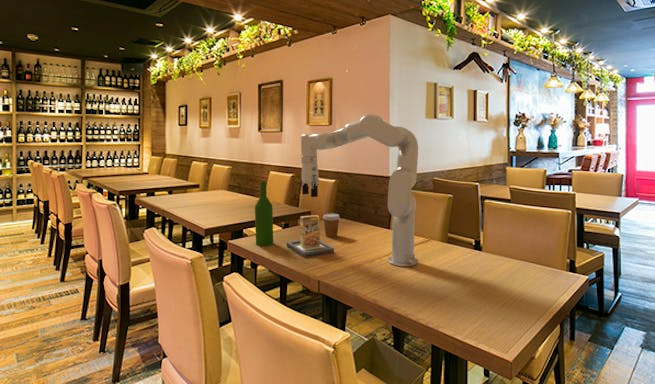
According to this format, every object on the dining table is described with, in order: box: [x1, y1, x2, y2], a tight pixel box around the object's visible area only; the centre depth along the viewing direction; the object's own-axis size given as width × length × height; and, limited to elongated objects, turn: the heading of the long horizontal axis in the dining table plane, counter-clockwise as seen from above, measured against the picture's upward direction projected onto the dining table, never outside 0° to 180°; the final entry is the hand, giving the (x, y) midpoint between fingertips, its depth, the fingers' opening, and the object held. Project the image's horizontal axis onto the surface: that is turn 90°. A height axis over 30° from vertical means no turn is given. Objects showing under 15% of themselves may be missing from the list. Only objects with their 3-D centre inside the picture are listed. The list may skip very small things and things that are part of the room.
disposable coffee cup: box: [322, 213, 340, 238], centre depth 224 cm, size 10×10×12 cm
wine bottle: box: [254, 181, 274, 247], centre depth 208 cm, size 9×9×32 cm
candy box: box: [299, 214, 321, 248], centre depth 198 cm, size 9×4×15 cm, turn 111°
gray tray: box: [286, 239, 335, 259], centre depth 199 cm, size 20×16×2 cm
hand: (309, 195), depth 195 cm, fingers open, 9 cm apart
